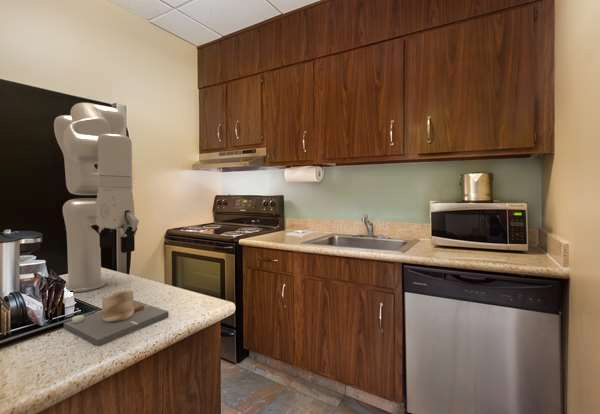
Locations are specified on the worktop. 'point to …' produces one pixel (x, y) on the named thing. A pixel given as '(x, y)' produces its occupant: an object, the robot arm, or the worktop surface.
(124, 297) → the levelling knob
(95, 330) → the base plate
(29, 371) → the worktop surface
